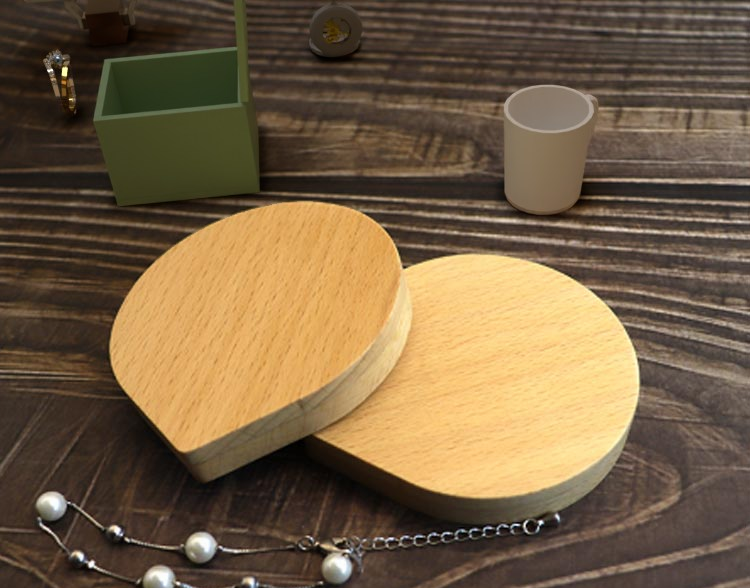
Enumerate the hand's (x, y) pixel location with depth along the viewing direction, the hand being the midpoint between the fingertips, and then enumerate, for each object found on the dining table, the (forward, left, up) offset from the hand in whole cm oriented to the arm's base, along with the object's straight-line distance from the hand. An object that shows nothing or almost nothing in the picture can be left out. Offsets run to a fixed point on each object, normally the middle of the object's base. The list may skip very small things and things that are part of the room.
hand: (108, 25), depth 137 cm
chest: (+12, -33, -2) cm, 35 cm away
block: (0, 0, -2) cm, 2 cm away
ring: (-3, -19, -2) cm, 19 cm away
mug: (+51, -44, -2) cm, 67 cm away
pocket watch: (+30, -10, -2) cm, 32 cm away
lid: (+20, -33, +18) cm, 43 cm away
